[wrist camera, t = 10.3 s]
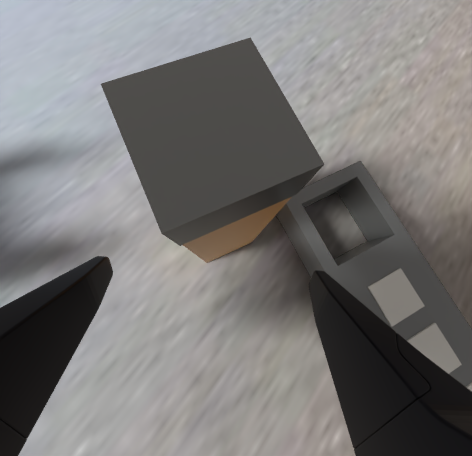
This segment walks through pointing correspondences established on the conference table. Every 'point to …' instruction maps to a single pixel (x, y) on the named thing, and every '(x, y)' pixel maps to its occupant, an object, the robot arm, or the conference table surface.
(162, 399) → the conference table surface
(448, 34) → the conference table surface
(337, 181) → the power strip
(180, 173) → the plug
